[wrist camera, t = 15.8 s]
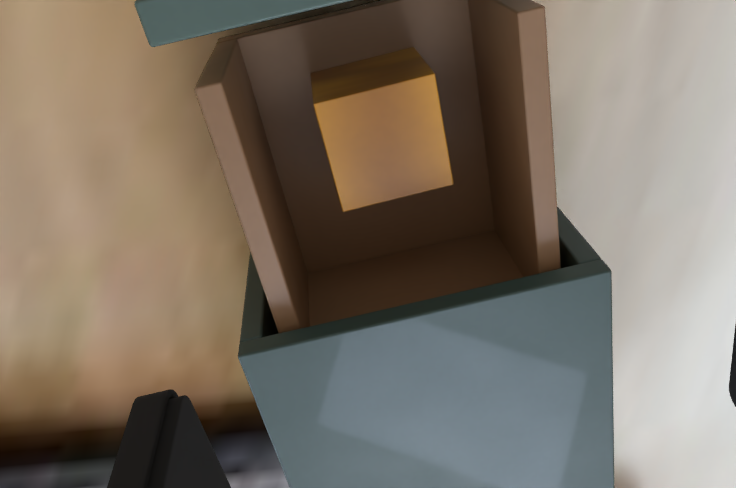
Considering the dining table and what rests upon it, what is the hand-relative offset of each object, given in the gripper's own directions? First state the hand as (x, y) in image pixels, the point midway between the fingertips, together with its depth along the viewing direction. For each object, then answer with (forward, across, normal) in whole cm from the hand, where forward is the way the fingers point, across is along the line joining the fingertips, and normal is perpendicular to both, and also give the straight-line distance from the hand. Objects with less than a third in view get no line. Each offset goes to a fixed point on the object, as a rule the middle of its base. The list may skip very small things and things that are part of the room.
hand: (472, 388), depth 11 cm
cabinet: (+18, 0, +12) cm, 22 cm away
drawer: (+17, 0, -2) cm, 17 cm away
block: (+16, 0, 0) cm, 16 cm away
